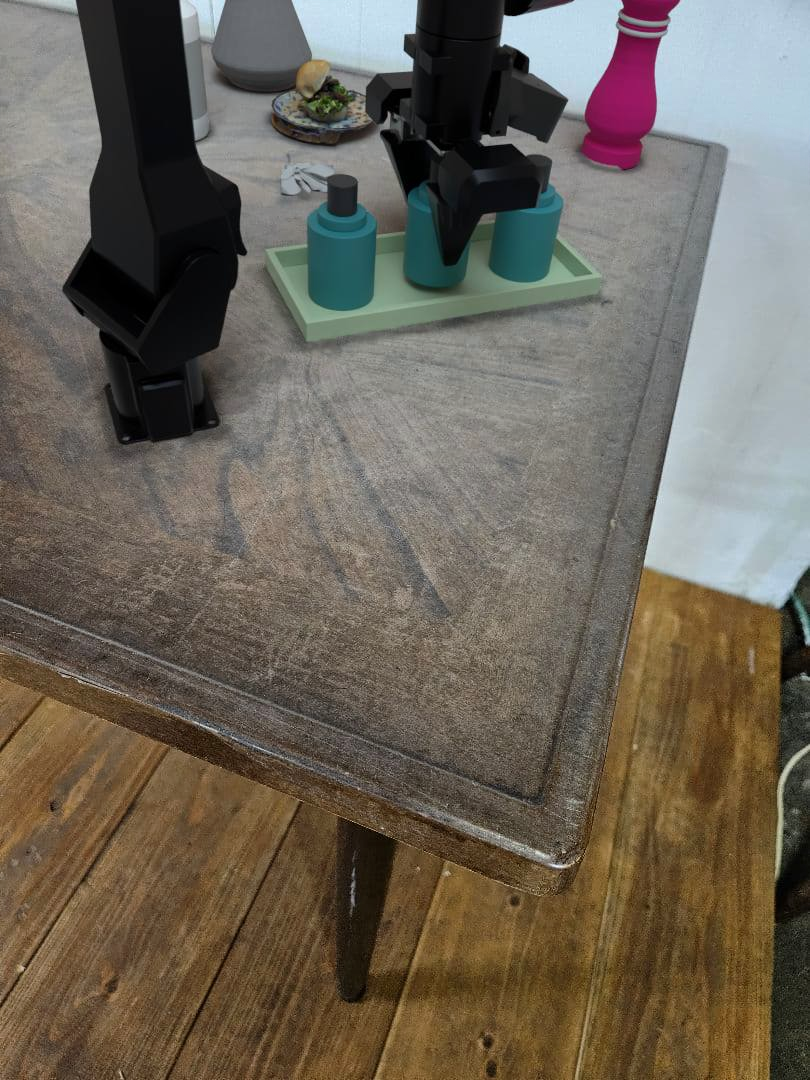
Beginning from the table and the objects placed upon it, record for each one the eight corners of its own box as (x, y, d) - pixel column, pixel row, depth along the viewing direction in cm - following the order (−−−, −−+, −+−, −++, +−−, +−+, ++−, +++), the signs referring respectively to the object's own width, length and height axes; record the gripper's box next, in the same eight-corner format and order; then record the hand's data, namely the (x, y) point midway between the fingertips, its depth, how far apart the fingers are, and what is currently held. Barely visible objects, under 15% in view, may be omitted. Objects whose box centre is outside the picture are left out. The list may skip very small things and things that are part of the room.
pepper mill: (562, 151, 89) (608, -76, 74) (608, 139, 92) (661, -81, 77) (610, 177, 85) (669, -56, 70) (656, 163, 88) (722, -62, 74)
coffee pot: (310, 64, 102) (308, -85, 91) (314, 100, 94) (312, -60, 83) (132, 58, 99) (107, -97, 88) (120, 94, 91) (92, -72, 80)
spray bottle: (179, 151, 82) (150, -69, 69) (128, 132, 84) (91, -84, 71) (223, 130, 86) (205, -80, 73) (173, 113, 89) (147, -95, 75)
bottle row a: (478, 255, 71) (493, 149, 65) (531, 248, 73) (551, 143, 66) (505, 286, 68) (524, 177, 61) (559, 278, 70) (584, 170, 63)
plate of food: (346, 155, 84) (347, 75, 79) (249, 127, 87) (244, 49, 82) (399, 119, 92) (404, 44, 86) (308, 94, 95) (307, 20, 89)
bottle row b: (300, 281, 66) (296, 168, 60) (360, 272, 68) (364, 162, 61) (320, 315, 63) (319, 200, 57) (383, 305, 65) (389, 192, 58)
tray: (266, 271, 68) (264, 248, 66) (534, 234, 75) (538, 213, 74) (306, 346, 61) (306, 323, 60) (597, 298, 69) (603, 276, 67)
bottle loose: (393, 259, 68) (400, 147, 62) (450, 251, 70) (463, 141, 63) (417, 291, 65) (427, 177, 58) (476, 282, 67) (493, 170, 60)
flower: (369, 197, 81) (374, 170, 78) (319, 226, 76) (323, 199, 74) (309, 161, 82) (312, 135, 80) (256, 188, 77) (258, 160, 75)
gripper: (638, 69, 51) (581, 294, 63) (504, -17, 63) (476, 187, 74) (477, 80, 48) (448, 315, 59) (366, -13, 59) (359, 200, 71)
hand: (435, 248), depth 66 cm, fingers closed on bottle loose, 5 cm apart
